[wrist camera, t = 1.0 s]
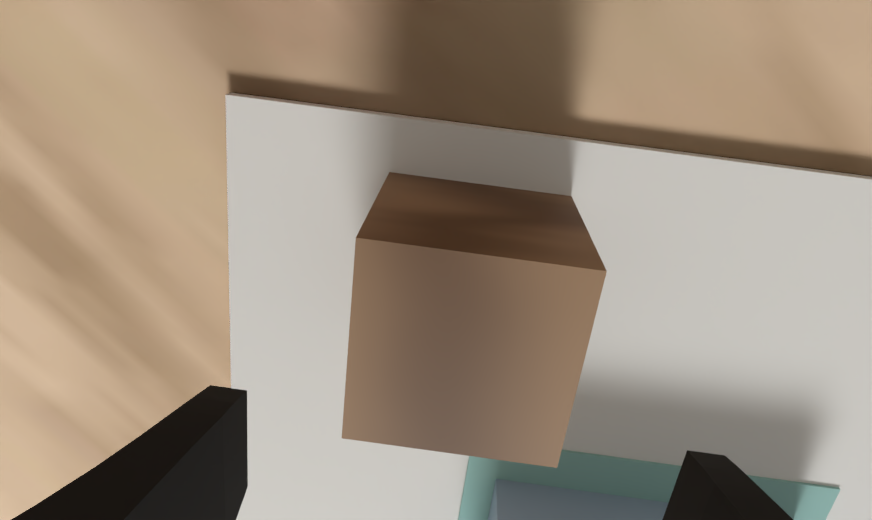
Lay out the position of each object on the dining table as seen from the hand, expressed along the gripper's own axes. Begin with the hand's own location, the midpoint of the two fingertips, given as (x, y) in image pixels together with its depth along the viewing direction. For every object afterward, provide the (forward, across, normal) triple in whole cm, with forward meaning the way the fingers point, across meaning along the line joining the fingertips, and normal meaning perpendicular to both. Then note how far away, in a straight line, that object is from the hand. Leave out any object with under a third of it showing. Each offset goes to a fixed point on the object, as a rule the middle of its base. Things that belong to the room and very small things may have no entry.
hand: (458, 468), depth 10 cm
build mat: (+9, -5, +6) cm, 12 cm away
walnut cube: (+8, 0, 0) cm, 8 cm away
